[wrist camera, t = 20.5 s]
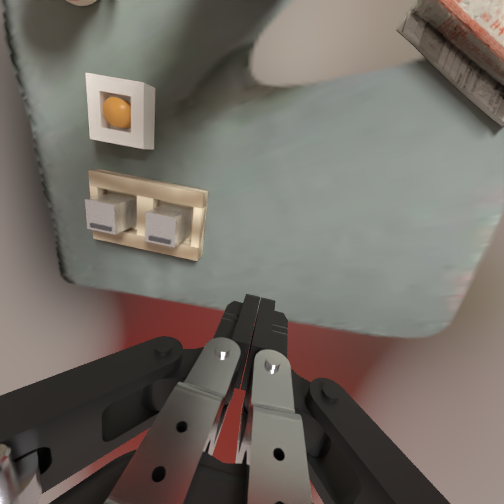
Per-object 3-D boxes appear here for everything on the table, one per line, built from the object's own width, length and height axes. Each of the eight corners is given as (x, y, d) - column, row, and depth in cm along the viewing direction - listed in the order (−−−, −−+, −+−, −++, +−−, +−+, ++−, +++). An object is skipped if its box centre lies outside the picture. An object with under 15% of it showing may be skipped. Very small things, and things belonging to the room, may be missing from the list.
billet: (165, 203, 41) (144, 212, 35) (191, 209, 40) (175, 218, 35) (164, 229, 42) (144, 241, 37) (189, 235, 42) (173, 248, 36)
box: (101, 78, 36) (85, 72, 33) (155, 88, 35) (143, 82, 33) (104, 140, 39) (89, 139, 36) (154, 149, 38) (143, 149, 36)
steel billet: (112, 192, 41) (83, 199, 36) (138, 198, 41) (113, 205, 35) (113, 219, 43) (86, 229, 37) (138, 224, 43) (114, 235, 37)
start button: (112, 97, 36) (102, 94, 34) (136, 102, 35) (127, 99, 34) (113, 126, 37) (103, 124, 35) (136, 130, 37) (128, 129, 35)
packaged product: (409, 11, 26) (502, -113, 22) (391, 32, 30) (466, -68, 26) (533, 125, 27) (638, 28, 24) (499, 129, 32) (582, 48, 28)
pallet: (99, 169, 41) (88, 170, 38) (208, 190, 39) (203, 193, 37) (103, 234, 45) (93, 238, 42) (202, 255, 43) (197, 261, 41)
